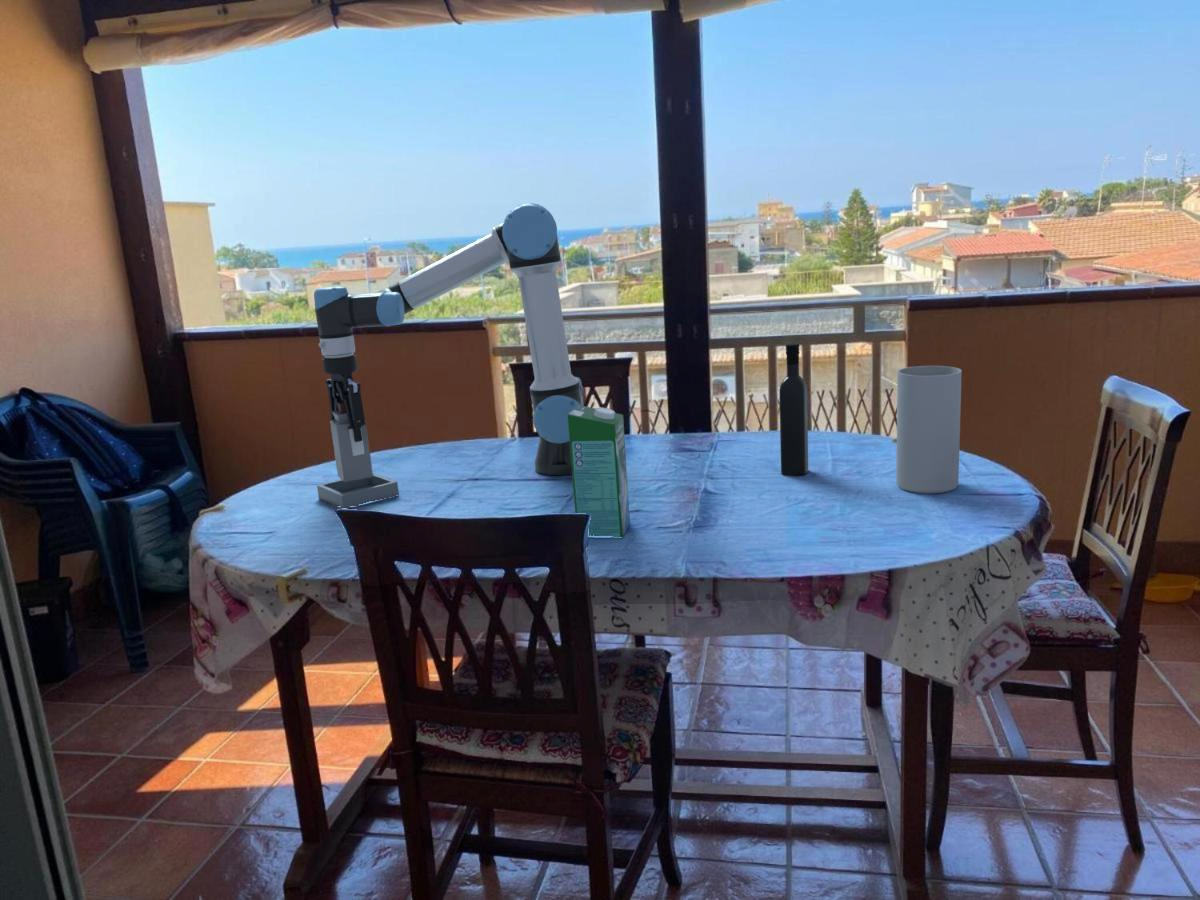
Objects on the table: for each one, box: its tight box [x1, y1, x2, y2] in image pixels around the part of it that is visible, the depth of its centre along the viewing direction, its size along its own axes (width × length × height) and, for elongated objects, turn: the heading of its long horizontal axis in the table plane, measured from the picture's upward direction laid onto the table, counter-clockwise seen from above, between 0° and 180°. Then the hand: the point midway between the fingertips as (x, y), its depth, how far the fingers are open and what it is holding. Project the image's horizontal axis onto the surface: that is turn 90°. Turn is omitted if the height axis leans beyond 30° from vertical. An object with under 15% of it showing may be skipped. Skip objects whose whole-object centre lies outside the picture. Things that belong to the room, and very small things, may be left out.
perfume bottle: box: [329, 401, 374, 482], centre depth 212 cm, size 7×7×18 cm
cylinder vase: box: [895, 365, 962, 495], centre depth 190 cm, size 12×12×25 cm
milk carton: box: [567, 405, 631, 538], centre depth 177 cm, size 9×9×25 cm
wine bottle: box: [778, 343, 809, 476], centre depth 207 cm, size 6×6×30 cm
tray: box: [316, 472, 400, 509], centre depth 215 cm, size 14×14×4 cm
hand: (352, 452), depth 213 cm, fingers closed on perfume bottle, 6 cm apart
